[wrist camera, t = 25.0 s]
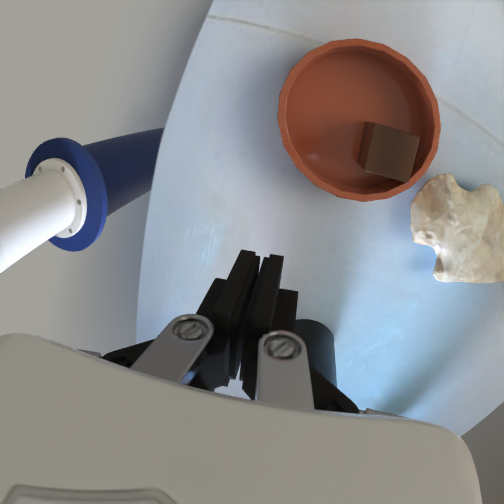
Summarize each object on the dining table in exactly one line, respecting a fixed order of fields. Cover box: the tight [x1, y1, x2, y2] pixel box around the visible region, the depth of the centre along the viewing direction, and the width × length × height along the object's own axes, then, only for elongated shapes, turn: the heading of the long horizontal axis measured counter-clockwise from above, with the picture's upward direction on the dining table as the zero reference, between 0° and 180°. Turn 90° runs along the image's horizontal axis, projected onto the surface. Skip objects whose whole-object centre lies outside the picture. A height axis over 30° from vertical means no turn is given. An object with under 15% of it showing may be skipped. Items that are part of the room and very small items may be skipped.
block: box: [357, 121, 420, 183], centre depth 26 cm, size 4×4×4 cm
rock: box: [410, 173, 504, 284], centre depth 28 cm, size 4×13×20 cm
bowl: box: [277, 39, 441, 202], centre depth 26 cm, size 15×15×4 cm
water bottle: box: [294, 319, 337, 388], centre depth 31 cm, size 10×10×23 cm
